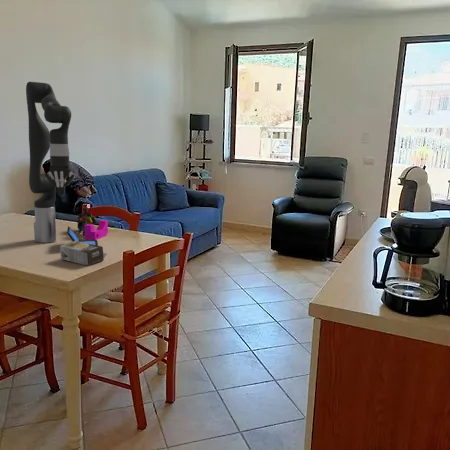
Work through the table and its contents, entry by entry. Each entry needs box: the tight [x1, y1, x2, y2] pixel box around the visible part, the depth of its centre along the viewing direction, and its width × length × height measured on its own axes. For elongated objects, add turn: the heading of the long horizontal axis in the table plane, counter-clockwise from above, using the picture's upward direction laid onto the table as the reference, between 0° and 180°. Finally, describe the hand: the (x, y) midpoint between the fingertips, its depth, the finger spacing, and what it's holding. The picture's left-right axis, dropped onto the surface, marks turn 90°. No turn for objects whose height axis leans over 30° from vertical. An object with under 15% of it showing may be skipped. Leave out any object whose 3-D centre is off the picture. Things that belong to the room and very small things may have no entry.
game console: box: [66, 226, 99, 246], centre depth 211 cm, size 16×14×9 cm
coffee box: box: [59, 240, 105, 267], centre depth 187 cm, size 9×6×16 cm
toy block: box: [84, 219, 109, 241], centre depth 230 cm, size 15×6×8 cm, turn 161°
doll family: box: [76, 206, 98, 238], centre depth 236 cm, size 23×9×13 cm, turn 36°
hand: (61, 195), depth 188 cm, fingers closed
